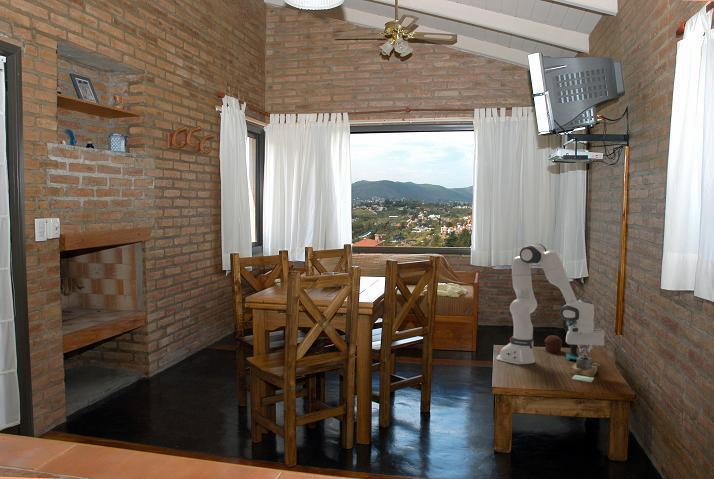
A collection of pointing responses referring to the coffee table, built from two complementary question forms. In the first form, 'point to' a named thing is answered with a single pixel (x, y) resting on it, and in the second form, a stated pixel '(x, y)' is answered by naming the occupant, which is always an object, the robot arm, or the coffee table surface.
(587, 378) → the mat
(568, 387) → the coffee table surface
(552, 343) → the muffin
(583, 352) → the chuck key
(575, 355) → the power drill
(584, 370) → the block
